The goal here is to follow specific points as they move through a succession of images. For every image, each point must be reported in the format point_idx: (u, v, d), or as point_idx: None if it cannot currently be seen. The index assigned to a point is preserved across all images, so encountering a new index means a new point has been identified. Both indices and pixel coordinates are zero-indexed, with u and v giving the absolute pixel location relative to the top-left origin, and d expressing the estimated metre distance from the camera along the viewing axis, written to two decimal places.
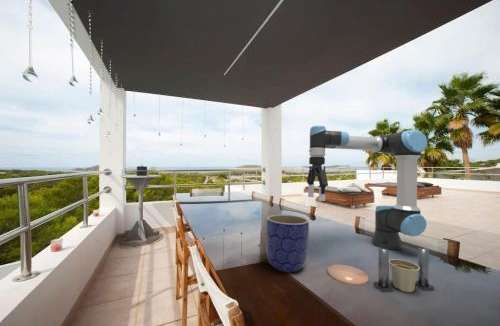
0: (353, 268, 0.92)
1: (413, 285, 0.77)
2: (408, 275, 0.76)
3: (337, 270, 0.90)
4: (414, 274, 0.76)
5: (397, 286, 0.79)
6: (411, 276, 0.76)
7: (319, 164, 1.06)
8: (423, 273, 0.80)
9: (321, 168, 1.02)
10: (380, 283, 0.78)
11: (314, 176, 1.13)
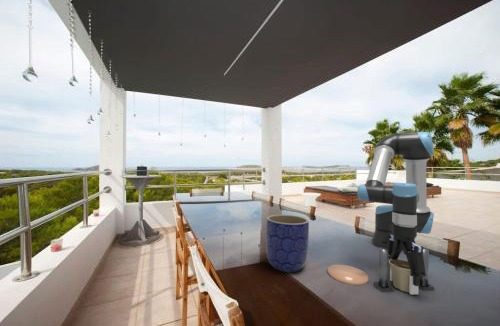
0: (353, 268, 0.92)
1: None
2: (408, 275, 0.76)
3: (337, 270, 0.90)
4: None
5: (397, 286, 0.79)
6: None
7: (411, 238, 0.77)
8: None
9: (418, 250, 0.74)
10: (380, 283, 0.78)
11: (399, 251, 0.83)
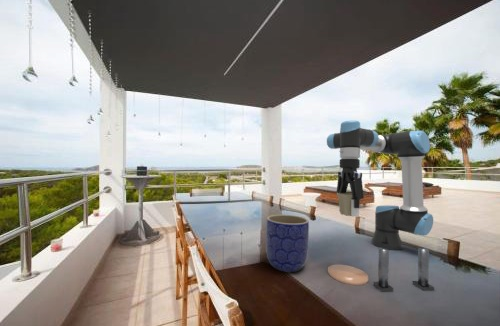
0: (353, 268, 0.92)
1: None
2: (350, 201, 0.85)
3: (337, 270, 0.90)
4: None
5: (342, 212, 0.88)
6: None
7: (354, 168, 0.86)
8: (423, 273, 0.80)
9: (357, 176, 0.83)
10: (380, 283, 0.78)
11: (346, 184, 0.92)
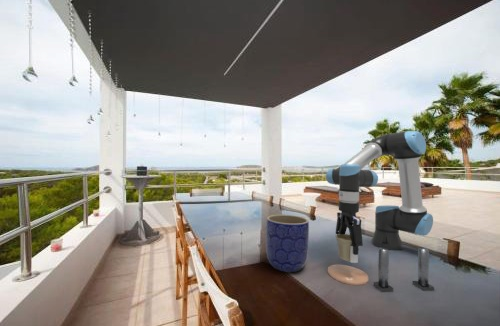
0: (353, 268, 0.92)
1: None
2: (349, 246, 0.85)
3: (337, 270, 0.90)
4: None
5: (341, 256, 0.87)
6: None
7: (353, 213, 0.85)
8: (423, 273, 0.80)
9: (356, 222, 0.82)
10: (380, 283, 0.78)
11: (345, 226, 0.91)
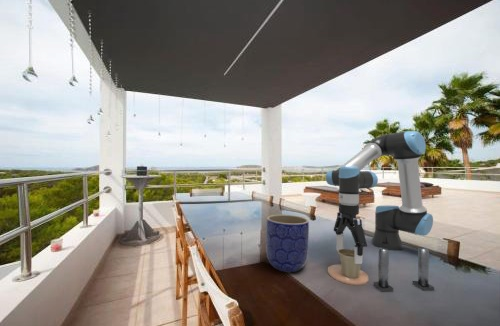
0: None
1: (357, 271, 0.83)
2: (352, 263, 0.83)
3: (337, 270, 0.90)
4: None
5: (343, 273, 0.85)
6: None
7: (353, 215, 0.85)
8: (423, 273, 0.80)
9: (357, 222, 0.82)
10: (380, 283, 0.78)
11: (344, 226, 0.92)
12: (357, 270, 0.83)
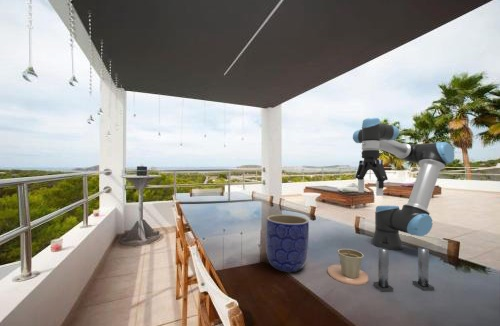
0: None
1: (357, 272, 0.83)
2: (352, 263, 0.83)
3: (337, 270, 0.90)
4: (357, 261, 0.83)
5: (343, 273, 0.85)
6: (355, 263, 0.83)
7: (375, 158, 1.02)
8: (423, 273, 0.80)
9: (378, 162, 0.98)
10: (380, 283, 0.78)
11: (366, 170, 1.09)
12: (357, 270, 0.83)
